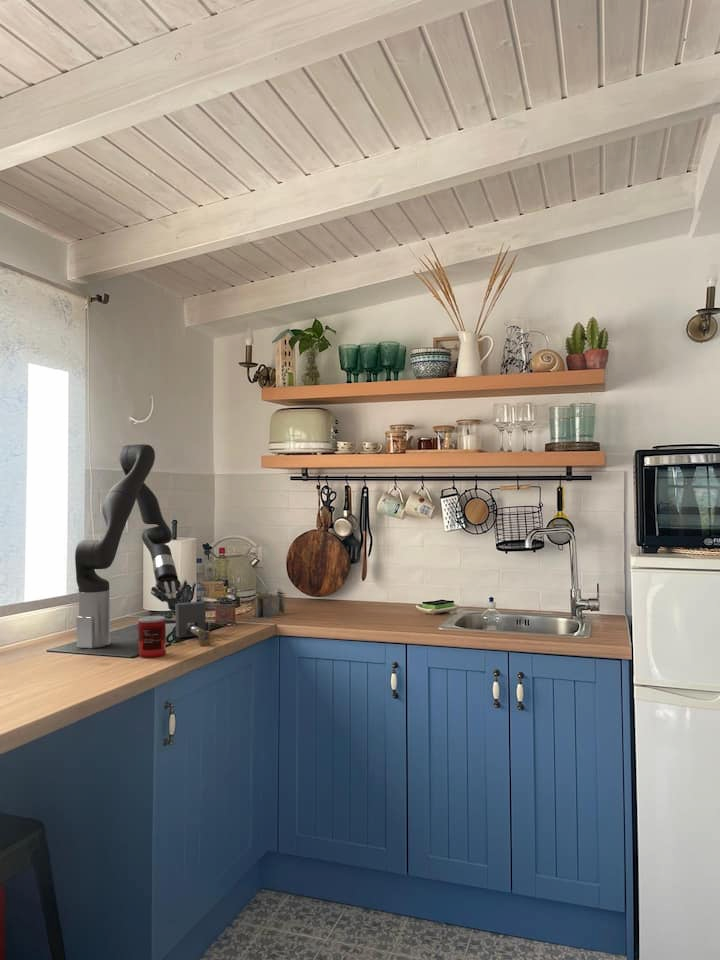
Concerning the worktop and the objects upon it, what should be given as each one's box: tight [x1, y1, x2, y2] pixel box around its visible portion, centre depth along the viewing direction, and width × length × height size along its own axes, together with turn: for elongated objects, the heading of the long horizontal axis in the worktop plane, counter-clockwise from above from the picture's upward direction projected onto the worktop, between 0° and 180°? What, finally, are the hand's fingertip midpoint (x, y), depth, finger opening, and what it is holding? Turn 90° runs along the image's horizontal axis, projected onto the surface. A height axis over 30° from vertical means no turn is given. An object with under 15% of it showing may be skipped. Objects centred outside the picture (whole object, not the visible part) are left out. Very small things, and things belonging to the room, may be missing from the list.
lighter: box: [214, 596, 237, 626], centre depth 266 cm, size 8×3×10 cm, turn 74°
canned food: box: [137, 615, 167, 659], centre depth 218 cm, size 8×8×11 cm
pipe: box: [170, 623, 226, 647], centre depth 240 cm, size 23×18×4 cm
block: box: [174, 600, 207, 638], centre depth 245 cm, size 4×9×11 cm, turn 118°
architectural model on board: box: [254, 592, 286, 618], centre depth 284 cm, size 11×3×10 cm, turn 121°
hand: (173, 609), depth 252 cm, fingers closed
